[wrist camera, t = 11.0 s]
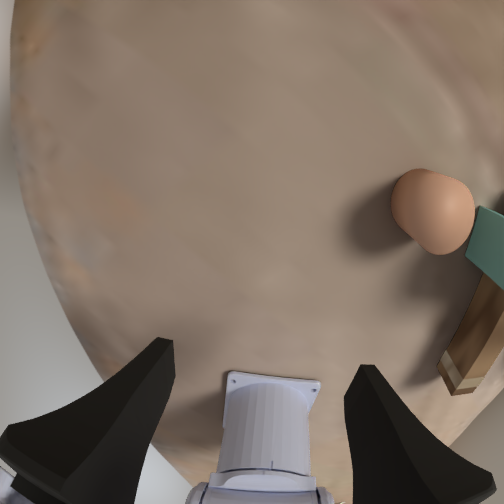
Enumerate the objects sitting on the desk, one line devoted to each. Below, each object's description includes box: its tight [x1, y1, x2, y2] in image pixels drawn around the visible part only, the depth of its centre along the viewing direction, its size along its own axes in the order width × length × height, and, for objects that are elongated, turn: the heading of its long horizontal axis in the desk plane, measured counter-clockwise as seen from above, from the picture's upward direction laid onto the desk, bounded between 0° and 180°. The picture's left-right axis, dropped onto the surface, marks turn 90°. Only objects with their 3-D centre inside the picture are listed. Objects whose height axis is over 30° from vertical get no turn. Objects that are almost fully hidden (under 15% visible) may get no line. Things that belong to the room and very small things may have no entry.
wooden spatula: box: [437, 272, 504, 396], centre depth 16 cm, size 18×3×4 cm, turn 173°
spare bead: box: [391, 169, 475, 255], centre depth 15 cm, size 4×4×4 cm
